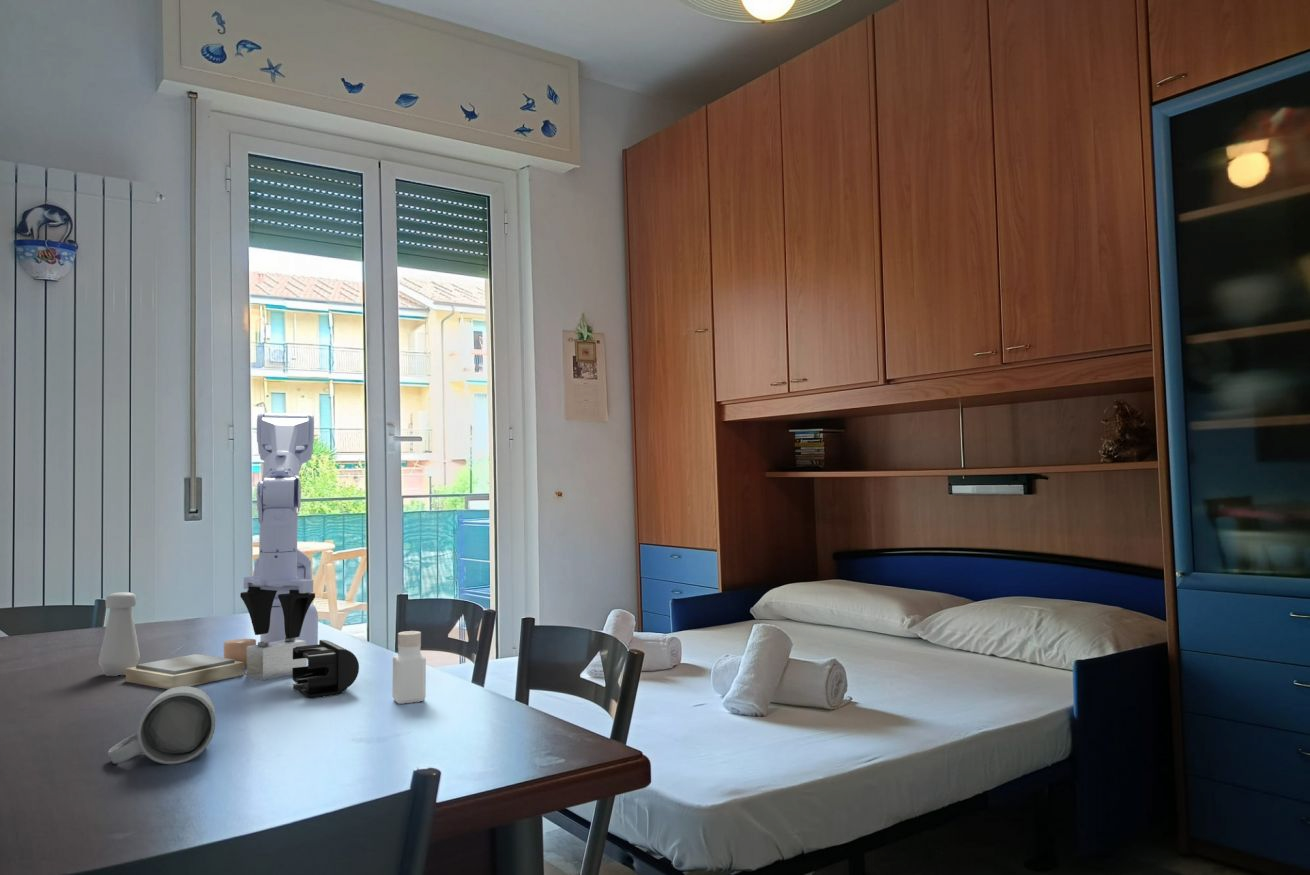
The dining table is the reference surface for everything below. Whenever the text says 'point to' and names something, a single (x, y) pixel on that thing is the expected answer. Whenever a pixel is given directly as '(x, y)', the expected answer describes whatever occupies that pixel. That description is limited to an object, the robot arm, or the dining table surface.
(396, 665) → the pepper shaker
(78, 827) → the dining table surface
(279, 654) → the alloy housing
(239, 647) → the peach rounded cylinder
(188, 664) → the birch plinth
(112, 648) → the salt shaker
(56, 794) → the dining table surface
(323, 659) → the end cap
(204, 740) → the ceramic mug
